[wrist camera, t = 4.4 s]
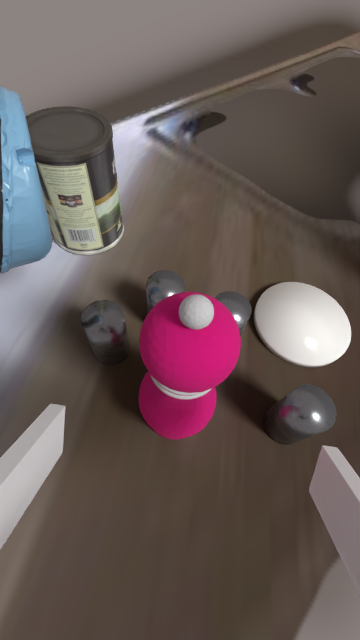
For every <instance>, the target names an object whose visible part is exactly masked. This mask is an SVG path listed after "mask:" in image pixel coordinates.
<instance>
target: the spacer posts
mask: <svg viewBox="0 0 360 640" xmlns="http://www.w3.org/2000/svg"><path fill="white" fill-rule="evenodd" d="M184 288H185V285H184V281H183V279H182V278H181V277H180V276H179V275H178V274H177V273H175V272H172V271H167V270H162V271H158V272H155V273H153V274H152V275H151V276H150V277H149V278H148V280H147V283H146V292H147V314H148V313H149V312H150V310H151V309H152V308H153V307H154V306H155V305H156V304H157V303H158V302H160V301H161V300H163V299H164V298H166V297H168V296H171V295H173V294H177V293H182V292H184ZM215 299H217V300H218V301H220V302H221V303H222V304H224V305H225V306H226V307H227V308H228V310H229V311H230V312H231V313H232V315H233V317H234V319H235V320H236V322H237V325H238V328H239V332H240V335H241V333H242V331H243V329H244V327H245V325H246V323H247V321H248V319H249V318H250V315H251V312H252V309H251V305H250V303H249V301H248V300H247V299H246V298H245V297H244V296H243V295H241V294H239V293H236V292H231V291H228V292H223V293H220V294H219V295H217V296H216V297H215ZM81 324H82V326H83V329H84V331H85V333H86V335H87V338H88V340H89V342H90V345H91V347H92V349H93V352H94V354H95V356H96V358H97V359H98V360H99V361H100V362H102V363H104V364H107V365H113V364H117V363H119V362H121V361H122V360H124V359H125V358H126V356H127V355H128V352H129V342H128V337H127V331H126V325H125V320H124V314H123V311H122V309H121V307H120V306H119V305H118V304H116V303H115V302H112V301H109V300H100V301H96V302H93V303H91V304H90V305H88V306H87V307H86V308H85V309H84V311H83V313H82V316H81ZM335 420H336V408H335V405H334V403H333V401H332V399H331V398H330V396H329V395H328V394H327V393H326V392H325V391H323V390H322V389H320V388H319V387H316V386H313V385H301V386H299V387H297V388H296V389H294V390H293V391H292V392H290V393H289V394H288V395H286V396H285V397H284V398H282V399H281V400H280V401H279V402H277V403H276V404H275V405H273V406H272V407H271V408H269V409H268V410H267V412H266V413H265V416H264V427H265V430H266V432H267V434H268V435H269V436H270V437H271V438H272V439H273V440H274V441H276V442H277V443H280V444H284V445H288V444H292V443H295V442H297V441H300V440H303V439H305V438H308V437H311V436H313V435H316V434H318V433H321V432H324V431H326V430H328V429H330V428H331V427H332V426H333V424H334V423H335Z"/></svg>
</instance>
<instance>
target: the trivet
mask: <svg viewBox="0 0 360 640" xmlns="http://www.w3.org/2000/svg"><path fill="white" fill-rule="evenodd" d="M254 325H255V328H256V331H257V334H258V335H259V337H260V339H261V341H262V342H263V343H264V345H265V346H266V347H267V348H268V349H269V350H270V351H271V352H272V353H273V354H275V355H276V356H278V357H279V358H281V359H282V360H284V361H286V362H288V363H291V364H293V365H296V366H301V367H308V368H316V367H322V366H326V365H328V364H330V363H332V362H334V361H335V360H337V359H338V358H339V357H340V356H342V355H343V354H344V353H345V351H346V350H347V348H348V346H349V344H350V340H351V327H350V323H349V320H348V318H347V316H346V314H345V312H344V311H343V309H342V308H341V306H340V305H339V304H338V303H337V302H336V301H335V300H334V299H333V298H332V297H331V296H329V295H328V294H327V293H325V292H323V291H322V290H320V289H318V288H316V287H313V286H311V285H308V284H304V283H299V282H284V283H279V284H276V285H274V286H272V287H270V288H268V289H267V290H266V291H265V292H264V293H263V294H262V295H261V297H260V298H259V300H258V302H257V304H256V306H255V310H254Z"/></svg>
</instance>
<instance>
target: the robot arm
mask: <svg viewBox="0 0 360 640" xmlns="http://www.w3.org/2000/svg"><path fill="white" fill-rule="evenodd" d="M51 246H52V235H51V230H50V225H49V220H48V216H47V211H46V206H45V202H44V197H43V193H42V188H41V184H40V179H39V175H38V171H37V167H36V163H35V157H34V153H33V149H32V144H31V139H30V134H29V130H28V125H27V121H26V117H25V112H24V108H23V104H22V100H21V98H20V96H19V95H18V94H17V93H16V92H14V91H11V90H6V89H5V88H3V87H0V273H5V272H7V271H8V270H9V269H10V268H14V267H18V266H21V265H25V264H29V263H32V262H36V261H39V260H41V259H43V258H44V257H45V256H46V255H47V254H48V253H49V251H50V250H51ZM64 421H65V406H63V405H56V404H50V405H49V406H48V407H47V408H46V409H45V410H44V411H43V412H42V413H41V414H40V415H39V417H38V418H37V419H36V420H35V421H34V422H33V423H32V424H31V425H30V426H29V427H28V428H27V430H26V431H25V432H24V433H23V434H22V435H21V436H20V437H19V438H18V439H17V440H16V442H15V443H14V444H13V445H12V446H11V447H10V448H9V449H8V450H7V451H6V452H5V453H4V455H3V456H2V457H1V458H0V549H1V548H2V546H3V545H4V543H5V542H6V540H7V539H8V537H9V535H10V534H11V532H12V531H13V529H14V528H15V526H16V524H17V523H18V521H19V520H20V518H21V517H22V515H23V514H24V512H25V510H26V509H27V507H28V506H29V504H30V503H31V501H32V499H33V498H34V496H35V495H36V493H37V492H38V490H39V489H40V487H41V485H42V484H43V482H44V481H45V479H46V478H47V476H48V475H49V473H50V471H51V470H52V468H53V467H54V465H55V464H56V462H57V460H58V459H59V457H60V456H61V454H62V453H63V439H64ZM309 492H310V494H311V496H312V498H313V500H314V502H315V505H316V507H317V509H318V511H319V513H320V515H321V517H322V519H323V521H324V523H325V525H326V527H327V529H328V532H329V534H330V536H331V538H332V540H333V542H334V544H335V546H336V548H337V550H338V552H339V554H340V556H341V559H342V561H343V563H344V565H345V567H346V569H347V571H348V573H349V575H350V577H351V579H352V581H353V583H354V586H355V588H356V590H357V592H358V594H359V596H360V478H359V477H358V475H357V474H356V473H355V471H354V470H353V468H352V467H351V466H350V464H349V463H348V462H347V460H346V459H345V457H344V456H343V455H342V453H341V452H340V451H339V449H338V448H336V447H330V446H323V445H322V448H321V451H320V455H319V458H318V461H317V465H316V468H315V471H314V475H313V478H312V481H311V484H310V488H309Z"/></svg>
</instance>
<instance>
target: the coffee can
mask: <svg viewBox="0 0 360 640" xmlns="http://www.w3.org/2000/svg"><path fill="white" fill-rule="evenodd" d="M25 117H26V121H27V125H28V130H29V134H30V139H31V144H32V149H33V153H34V157H35V163H36V167H37V171H38V175H39V179H40V184H41V188H42V193H43V197H44V202H45V206H46V211H47V216H48V220H49V224H50V227H51V229H52V232H53V235H54V238H55V241H56V242H57V244H58V245H59V246H60V247H61V248H63V249H64V250H66V251H68V252H71V253H74V254H80V255H93V254H98V253H101V252H105V251H106V250H108V249H110V248H112V247H114V246H115V245H116V244H117V243H118V242H119V241H120V239H121V238H122V236H123V232H124V225H123V221H122V214H121V206H120V198H119V190H118V182H117V174H116V166H115V158H114V150H113V142H112V137H113V132H112V126H111V124H110V122H109V121H108V120H107V119H106V118H105V117H104V116H102V115H101V114H99V113H97V112H94V111H91V110H88V109H84V108H79V107H52V108H47V109H42V110H39V111H36V112H33V113H31V114H29V115H27V116H25Z"/></svg>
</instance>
